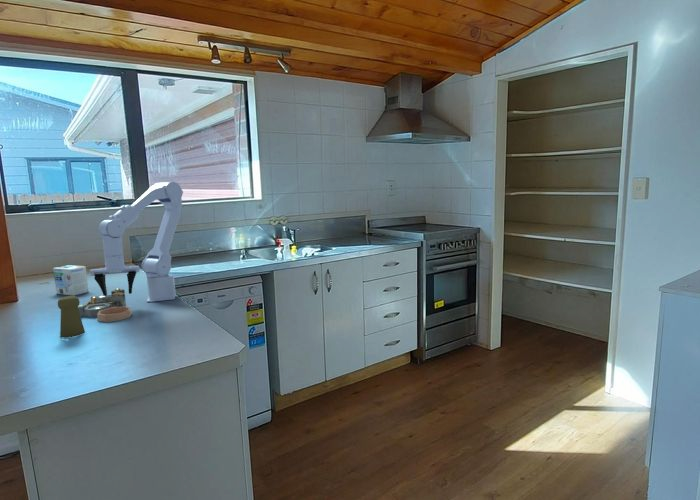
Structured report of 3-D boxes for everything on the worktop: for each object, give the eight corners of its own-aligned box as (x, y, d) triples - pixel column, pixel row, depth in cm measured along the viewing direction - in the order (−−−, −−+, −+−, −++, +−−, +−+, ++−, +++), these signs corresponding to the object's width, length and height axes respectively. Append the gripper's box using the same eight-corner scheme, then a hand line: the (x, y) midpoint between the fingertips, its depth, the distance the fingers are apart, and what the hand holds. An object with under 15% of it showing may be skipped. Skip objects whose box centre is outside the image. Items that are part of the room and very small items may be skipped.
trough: (120, 303, 154) (119, 298, 154) (117, 307, 149) (117, 301, 149) (88, 306, 151) (88, 301, 151) (85, 311, 146) (84, 305, 145)
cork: (58, 339, 118) (53, 300, 117) (61, 332, 124) (56, 296, 122) (84, 335, 121) (79, 297, 120) (85, 329, 126) (81, 293, 125)
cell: (127, 306, 149) (125, 287, 148) (125, 310, 146) (123, 289, 145) (114, 308, 148) (111, 288, 147) (112, 311, 144) (109, 290, 143)
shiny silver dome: (107, 307, 145) (107, 305, 145) (105, 311, 140) (104, 308, 140) (91, 309, 143) (90, 306, 143) (87, 313, 139) (87, 310, 139)
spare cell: (114, 305, 153) (113, 294, 153) (112, 306, 149) (111, 295, 149) (91, 307, 151) (91, 296, 150) (89, 309, 147) (88, 297, 147)
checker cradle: (112, 309, 147) (111, 299, 146) (108, 315, 140) (107, 305, 139) (81, 312, 143) (80, 303, 143) (76, 319, 137) (75, 308, 136)
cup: (132, 311, 143) (132, 305, 143) (129, 319, 135) (128, 312, 135) (101, 315, 140) (101, 308, 140) (96, 323, 132) (95, 316, 131)
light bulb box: (55, 294, 172) (52, 267, 170) (71, 290, 178) (68, 264, 176) (73, 296, 168) (70, 269, 166) (89, 291, 174) (86, 265, 172)
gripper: (86, 258, 138) (91, 299, 140) (136, 255, 143) (140, 294, 145) (91, 255, 144) (95, 294, 146) (138, 252, 149) (142, 290, 151)
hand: (118, 294), depth 146 cm, fingers open, 7 cm apart
